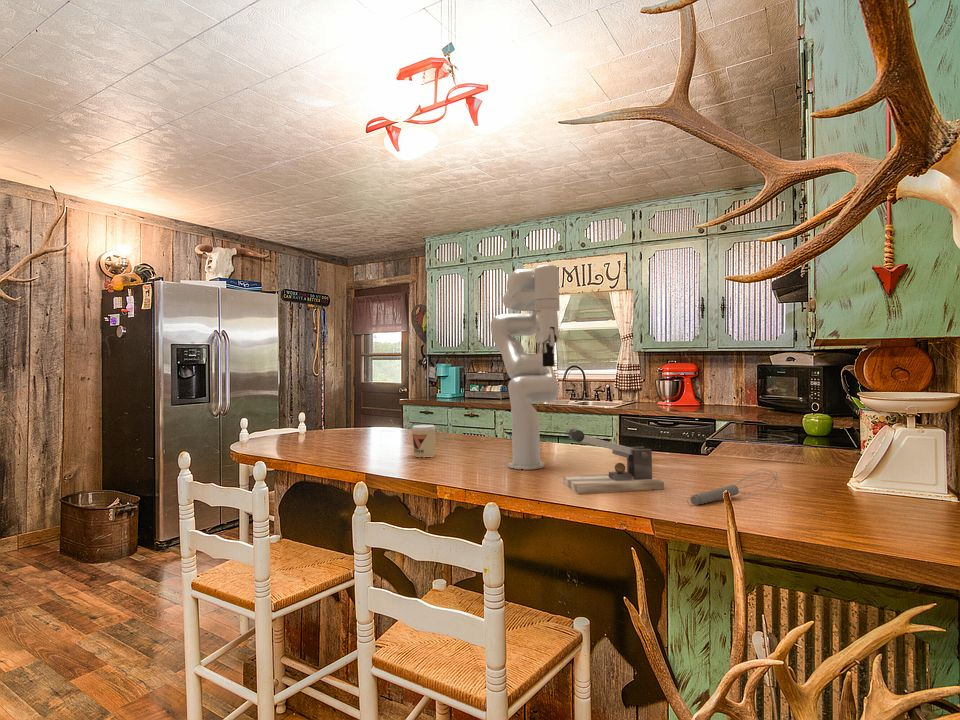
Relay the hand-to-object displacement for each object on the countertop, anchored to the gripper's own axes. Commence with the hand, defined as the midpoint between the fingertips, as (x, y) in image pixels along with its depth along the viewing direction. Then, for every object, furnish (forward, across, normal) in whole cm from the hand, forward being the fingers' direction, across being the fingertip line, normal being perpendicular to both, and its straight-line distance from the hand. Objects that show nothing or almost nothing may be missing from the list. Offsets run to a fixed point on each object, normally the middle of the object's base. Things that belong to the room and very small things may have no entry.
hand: (548, 366), depth 166 cm
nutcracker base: (+35, +10, +15) cm, 40 cm away
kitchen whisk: (+36, +30, +42) cm, 62 cm away
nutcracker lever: (+25, +10, +14) cm, 30 cm away
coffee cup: (+35, -54, -36) cm, 74 cm away
